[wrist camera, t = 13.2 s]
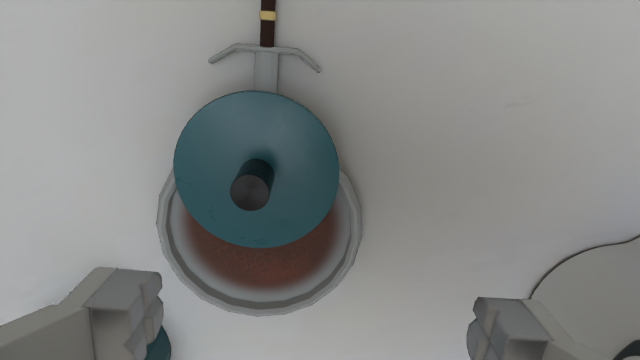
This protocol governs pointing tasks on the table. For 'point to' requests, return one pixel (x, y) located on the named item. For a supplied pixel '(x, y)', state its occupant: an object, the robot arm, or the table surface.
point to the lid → (256, 169)
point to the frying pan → (261, 263)
